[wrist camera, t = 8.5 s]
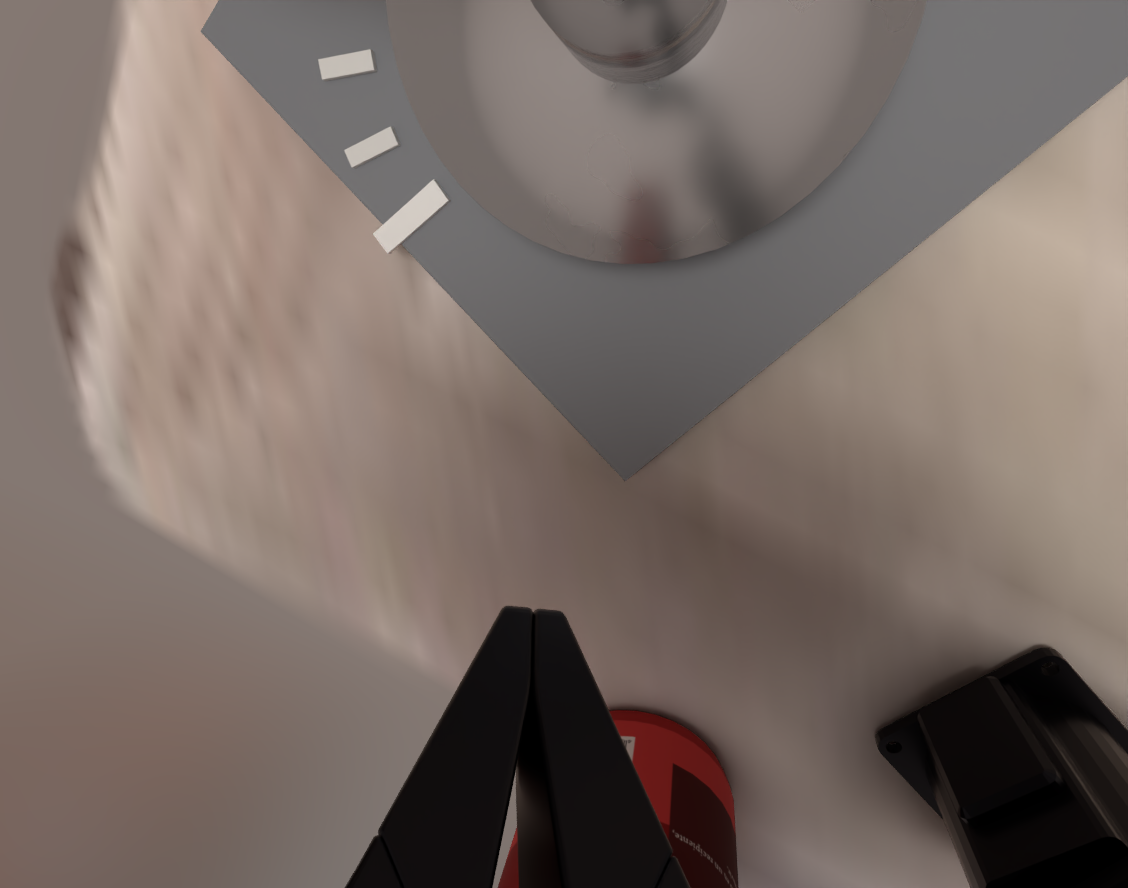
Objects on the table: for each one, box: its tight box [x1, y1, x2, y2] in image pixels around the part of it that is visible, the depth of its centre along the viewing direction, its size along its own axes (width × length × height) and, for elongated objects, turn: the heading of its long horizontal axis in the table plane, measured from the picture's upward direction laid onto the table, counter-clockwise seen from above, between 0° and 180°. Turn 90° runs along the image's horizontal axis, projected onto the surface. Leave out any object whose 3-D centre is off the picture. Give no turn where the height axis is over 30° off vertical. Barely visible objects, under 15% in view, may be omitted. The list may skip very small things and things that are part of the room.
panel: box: [201, 0, 1128, 481], centre depth 17 cm, size 18×18×1 cm
